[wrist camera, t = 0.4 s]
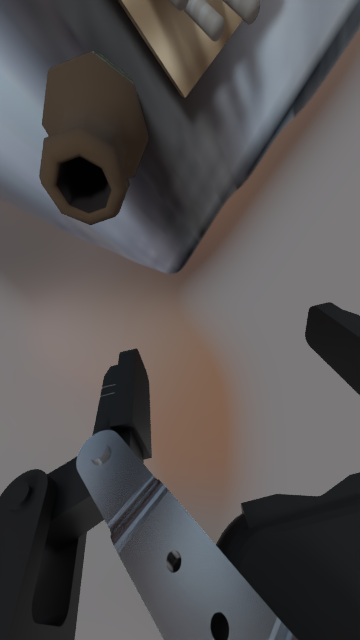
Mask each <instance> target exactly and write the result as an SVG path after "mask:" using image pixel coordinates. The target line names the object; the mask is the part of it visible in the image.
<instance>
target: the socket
mask: <svg viewBox="0 0 360 640" xmlns="http://www.w3.org/2000/svg"><path fill="white" fill-rule="evenodd" d="M118 2H119V3H120V5H121V6H122V8H123V9H124V11H125V12H126V14H127V15H128V17H129V18H130V20H131V21H132V23H133V24H134V26H135V27H136V29H137V30H138V32H139V33H140V35H141V36H142V38H143V39H144V41H145V43H146V44H147V46H148V47H149V49H150V50H151V52H152V53H153V55H154V56H155V58H156V59H157V61H158V62H159V64H160V65H161V67H162V68H163V70H164V71H165V73H166V74H167V76H168V77H169V79H170V80H171V82H172V83H173V85H174V86H175V88H176V89H177V91H178V92H179V94H180V95H181V96H183V97H185V98H186V96H187V95H188V94H189V92H190V91H191V90H192V88H193V87H194V86H195V84H196V83H197V82H198V80H199V79H200V77H201V76H202V75H203V73H204V72H205V71H206V69H207V68H208V67H209V65H210V64H211V62H212V61H213V60H214V58H215V57H216V56H217V54H218V53H219V52H220V50H221V49H222V48H223V46H224V45H225V43H226V42H227V41H228V39H229V38H230V37H231V35H232V34H233V33H234V31H235V30H236V29H237V27H238V26H239V24H240V23H241V22H242V20H244V21H245V22H246V23H247V24H251V23H252V22H253V21H254V20H255V19H256V17H257V15H258V12H259V9H260V0H118Z"/></svg>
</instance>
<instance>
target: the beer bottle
mask: <svg viewBox="0 0 360 640" xmlns="http://www.w3.org/2000/svg"><path fill="white" fill-rule="evenodd" d="M42 125H43V127H44V129H45V130H46V132H47V134H48V136H49V137H46V138H44V143H43V151H42V159H41V167H40V175H39V176H40V180H41V184H42V185H43V187H44V188H45V190H46V191H47V193H48V194H49V196H50V197H51V198H52V200H53V201H54V203H55V204H56V206H57V207H58V209H59V210H60V212H61V213H62V214H64V215H67V216H69V217H72V218H74V219H77V220H79V221H82V222H84V223H87V224H89V225H93V224H95V223H98V222H101V221H104V220H107V219H110V218H113V217H115V216H116V215H117V214H118V213H119V211H120V209H121V206H122V203H123V200H124V198H125V195H126V192H127V190H128V187H129V182H128V178H131V177H134V176H135V174H136V171H137V169H138V166H139V163H140V161H141V158H142V155H143V153H144V150H145V148H146V145H147V142H148V140H149V136H148V131H147V128H146V124H145V120H144V117H143V113H142V110H141V106H140V103H139V99H138V96H137V92H136V89H135V85H134V83H133V81H132V80H131V78H130V77H129V76H128V75H127V74H126V73H124V72H123V71H122V70H120V69H119V68H118V67H117V66H115V65H114V64H113V63H112V62H110V61H109V60H108V59H106V58H105V57H104V56H103V55H101V54H100V53H99V52H95V51H91V52H88V53H86V54H83V55H81V56H78V57H76V58H74V59H71V60H69V61H66V62H64V63H61V64H59V65H57V66H54V67H52V68H50V70H49V71H48V76H47V84H46V93H45V102H44V110H43V119H42Z"/></svg>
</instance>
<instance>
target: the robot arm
mask: <svg viewBox="0 0 360 640" xmlns="http://www.w3.org/2000/svg"><path fill="white" fill-rule="evenodd" d="M305 337H306V340H307V343H308V344H309V346H310V347H311V348H312V349H313V350H314V351H315V352H316V353H317V354H318V355H320V357H321V358H322V359H323V360H324V361H325V362H327V364H328V365H330V366H331V367H332V368H333V369H334V370H335V371H336V372H337V373H338V374H339V375H340V376H341V377H342V378H343V379H344V380H345V381H346V382H347V383H348V384H349V385H350V386H351V387H352V388H353V389H354V390H355V391H356V392H357V393H358V394H360V316H359V315H357V314H354V313H351V312H348V311H345V310H342V309H340V308H339V307H337V306H336V305H334V304H333V303H324V304H320V305H316V306H312V307H310V309H309V312H308V319H307V326H306V332H305ZM102 387H103V389H102V391H101V398H100V401H99V406H98V411H97V416H96V422H95V426H94V431H93V435H92V436H91V437H90V438H89V439H88V440H87V441H86V442H85V443H84V444H83V446H82V448H81V449H80V451H79V453H78V456H77V457H75V458H74V459H72V460H71V461H69V462H67V463H66V464H64V465H62V466H61V467H59V468H58V469H55V470H54V471H52V472H50V473H49V474H46V473H45V472H43V471H42V470H39V469H34V470H30V471H27V472H25V473H23V474H22V475H20V476H19V477H17V478H16V479H15V480H14V481H12V482H11V484H9V486H8V487H7V488H6V489H5V490H4V492H3V493H2V494H1V496H0V640H74V638H75V630H76V621H77V612H78V603H79V595H80V586H81V578H82V568H83V560H84V552H85V543H86V534H87V531H89V530H90V529H91V528H93V527H94V526H96V525H97V524H98V523H100V522H101V521H103V520H105V522H106V523H107V525H108V527H109V529H110V531H111V540H112V542H113V545H114V547H115V549H116V551H117V553H118V555H119V557H120V559H121V561H122V563H123V565H124V566H125V568H126V570H127V572H128V574H129V576H130V578H131V579H132V581H133V583H134V585H135V587H136V589H137V591H138V593H139V594H140V596H141V598H142V600H143V602H144V604H145V606H146V607H147V609H148V611H149V613H150V615H151V617H152V619H153V620H154V622H155V624H156V626H157V628H158V630H159V632H160V633H161V636H162V637H163V639H164V640H360V473H356V474H352V475H349V476H348V477H347V478H345V479H344V480H343V481H341V482H340V483H338V484H337V485H336V486H334V487H333V488H332V489H330V490H329V491H327V492H326V493H325V494H323V495H321V496H301V495H285V494H284V495H283V494H275V495H271V496H267V497H263V498H260V499H256V500H252V501H248V502H244V503H241V507H242V514H241V515H240V516H238V517H236V518H235V519H234V520H233V521H232V522H231V523H230V524H229V525H228V527H227V528H226V529H225V530H224V532H223V533H222V535H221V537H220V538H219V540H218V542H217V544H216V545H215V544H214V542H213V541H212V540H211V539H210V538H209V537H208V536H207V534H206V533H205V532H204V531H203V530H202V528H201V527H200V526H199V525H198V524H197V523H196V522H195V520H194V519H193V518H192V517H191V516H190V515H189V514H188V512H187V511H186V510H185V509H184V508H183V506H182V505H181V504H180V503H179V502H178V500H177V499H176V498H175V497H174V496H173V495H172V494H171V492H170V491H169V490H168V489H167V488H166V487H165V486H164V485H163V483H162V482H161V481H160V480H157V479H156V478H155V477H154V476H153V475H152V474H151V472H150V471H149V470H148V469H147V468H146V466H145V465H144V464H143V460H144V459H148V458H151V456H152V453H151V424H150V394H149V380H148V376H147V372H146V369H145V367H144V364H143V362H142V359H141V357H140V354H139V351H138V350H137V349H133V350H128V351H124V352H120V354H119V361H118V365H115V366H111V367H110V368H109V370H108V371H107V373H106V375H105V376H104V380H103V385H102Z"/></svg>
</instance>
